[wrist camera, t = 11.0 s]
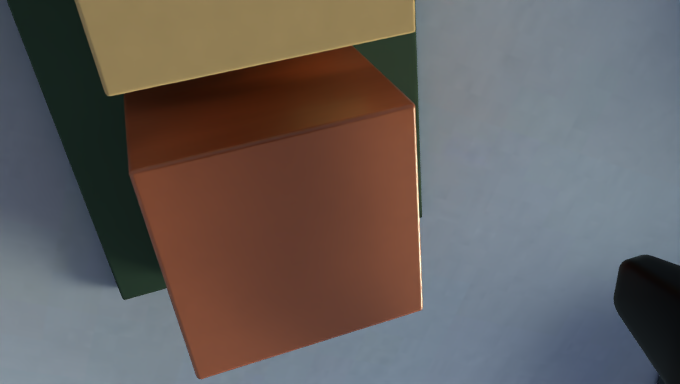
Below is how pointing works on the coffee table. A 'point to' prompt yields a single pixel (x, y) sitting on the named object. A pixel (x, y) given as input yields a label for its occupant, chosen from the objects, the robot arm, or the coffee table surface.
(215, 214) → the terracotta orange cube
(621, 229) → the coffee table surface
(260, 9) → the green board with cubes
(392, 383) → the coffee table surface
